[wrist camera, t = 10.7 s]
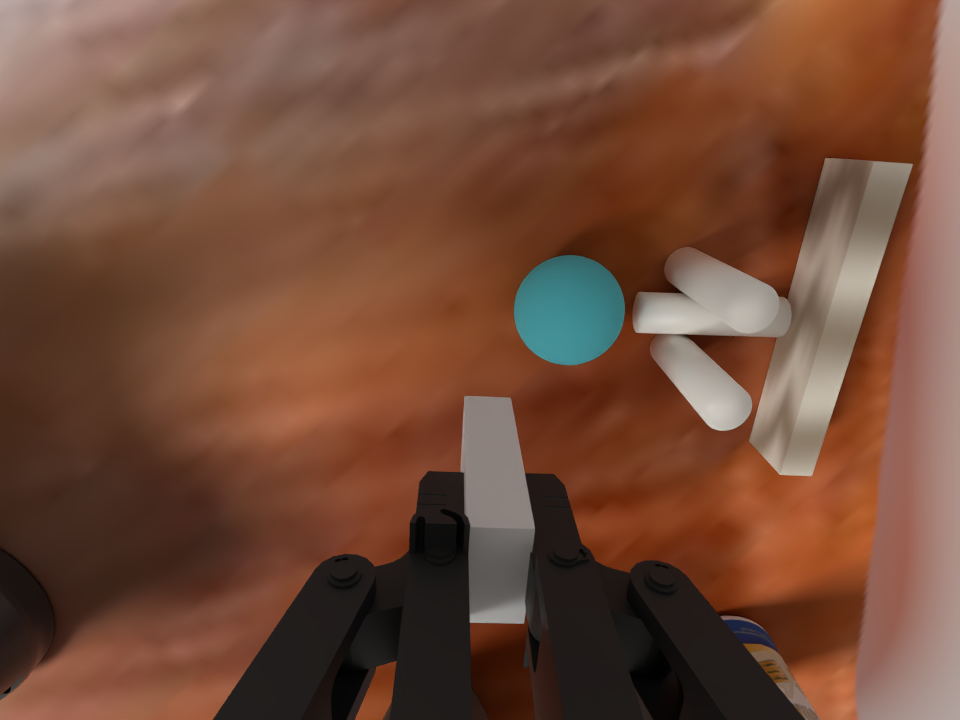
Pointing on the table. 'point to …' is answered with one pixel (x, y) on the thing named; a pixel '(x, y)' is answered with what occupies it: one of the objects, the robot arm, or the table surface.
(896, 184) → the back wall
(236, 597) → the table surface
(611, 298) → the ball
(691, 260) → the pin
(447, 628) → the robot arm
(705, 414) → the pin
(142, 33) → the table surface
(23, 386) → the table surface
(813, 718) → the beverage bottle
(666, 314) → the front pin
